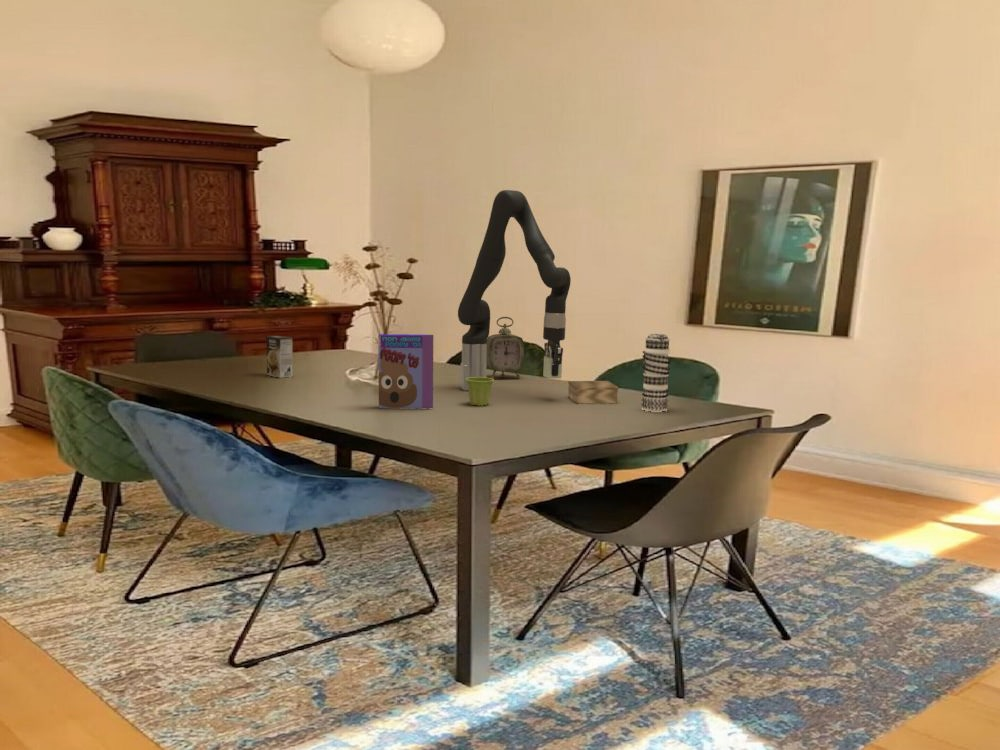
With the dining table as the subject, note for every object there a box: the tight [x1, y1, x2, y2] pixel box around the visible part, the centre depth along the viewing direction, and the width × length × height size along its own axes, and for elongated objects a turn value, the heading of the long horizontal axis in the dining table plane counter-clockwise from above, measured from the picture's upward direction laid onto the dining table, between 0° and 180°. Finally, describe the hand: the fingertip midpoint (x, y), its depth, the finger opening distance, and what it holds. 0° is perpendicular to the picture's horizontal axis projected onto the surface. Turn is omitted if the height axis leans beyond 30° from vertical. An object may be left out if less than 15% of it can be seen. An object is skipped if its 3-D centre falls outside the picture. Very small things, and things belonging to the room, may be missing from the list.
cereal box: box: [378, 333, 434, 410], centre depth 277 cm, size 17×5×24 cm, turn 94°
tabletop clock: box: [487, 316, 526, 380], centre depth 345 cm, size 14×9×25 cm, turn 103°
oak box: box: [567, 380, 619, 404], centre depth 299 cm, size 14×14×6 cm
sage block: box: [542, 355, 563, 379], centre depth 296 cm, size 5×5×7 cm
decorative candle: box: [641, 333, 672, 413], centre depth 281 cm, size 9×9×25 cm
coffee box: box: [265, 335, 294, 378], centre depth 340 cm, size 9×6×16 cm
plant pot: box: [466, 376, 495, 407], centre depth 287 cm, size 9×9×9 cm
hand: (552, 374), depth 297 cm, fingers closed on sage block, 5 cm apart
